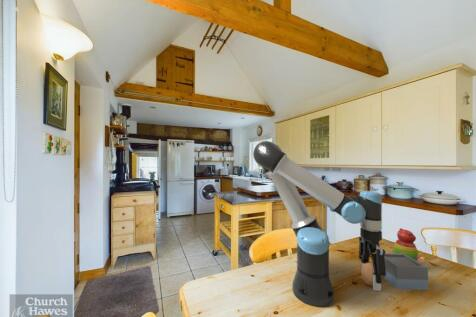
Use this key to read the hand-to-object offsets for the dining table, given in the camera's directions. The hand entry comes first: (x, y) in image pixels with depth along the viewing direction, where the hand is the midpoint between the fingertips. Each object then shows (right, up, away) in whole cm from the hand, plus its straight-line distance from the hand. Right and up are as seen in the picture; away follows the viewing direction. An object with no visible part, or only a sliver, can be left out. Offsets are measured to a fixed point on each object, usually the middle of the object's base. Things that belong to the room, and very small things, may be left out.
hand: (371, 284), depth 82 cm
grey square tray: (+15, 0, +3) cm, 15 cm away
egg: (0, 0, 0) cm, 0 cm away
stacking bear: (+28, -1, +16) cm, 32 cm away
